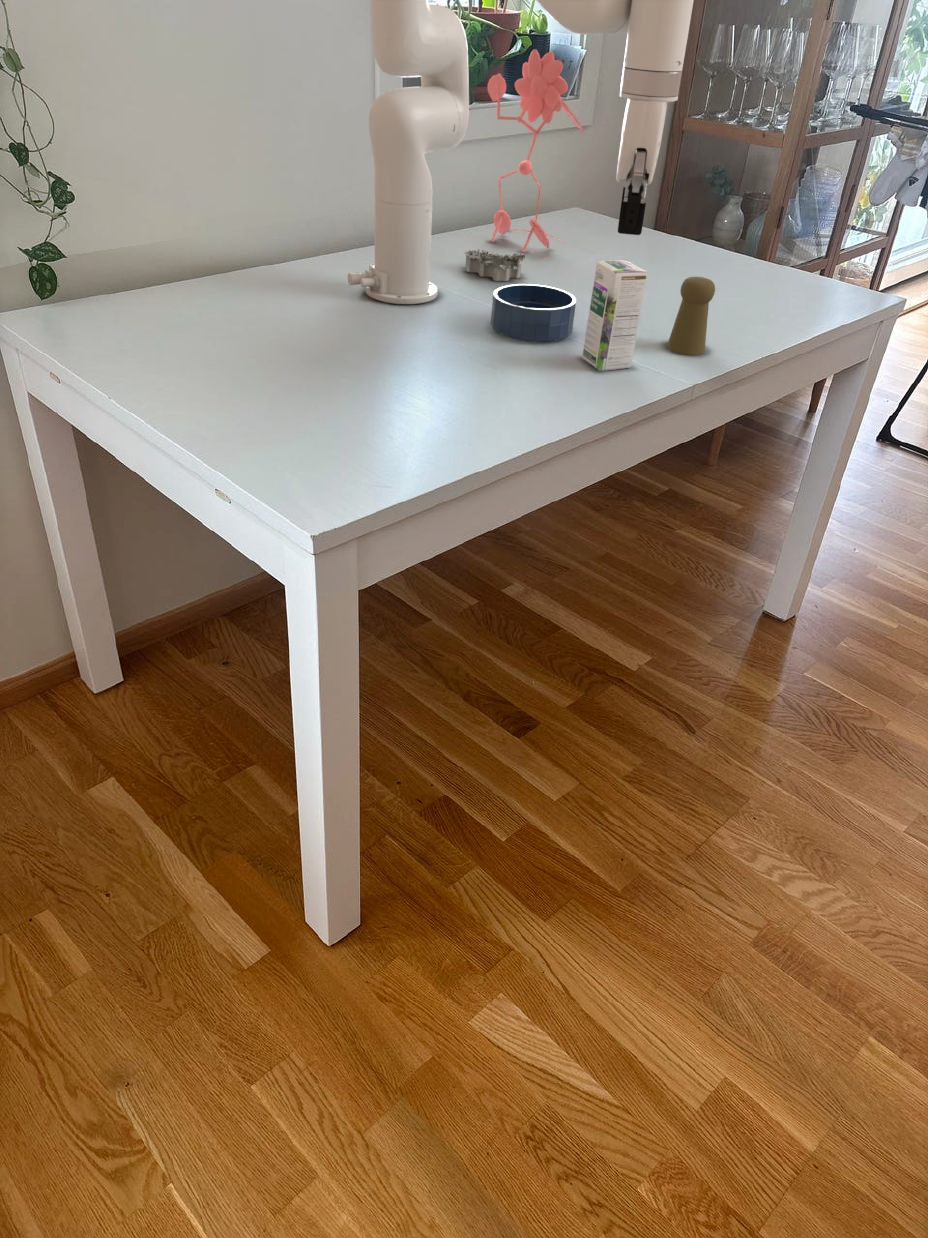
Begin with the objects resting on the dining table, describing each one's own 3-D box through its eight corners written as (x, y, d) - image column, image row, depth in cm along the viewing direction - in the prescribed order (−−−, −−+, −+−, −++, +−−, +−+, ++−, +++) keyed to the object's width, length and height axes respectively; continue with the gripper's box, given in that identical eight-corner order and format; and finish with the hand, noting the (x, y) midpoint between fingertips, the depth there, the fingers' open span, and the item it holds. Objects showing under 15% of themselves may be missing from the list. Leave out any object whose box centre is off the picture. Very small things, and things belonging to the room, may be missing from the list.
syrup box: (580, 358, 143) (594, 260, 135) (613, 355, 145) (628, 258, 137) (598, 371, 139) (614, 271, 131) (632, 368, 141) (650, 269, 133)
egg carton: (526, 277, 177) (528, 255, 175) (498, 283, 173) (500, 260, 170) (485, 263, 183) (487, 241, 181) (458, 269, 179) (459, 246, 176)
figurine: (551, 262, 186) (574, 59, 166) (461, 233, 201) (471, 43, 180) (599, 251, 196) (626, 57, 175) (509, 224, 210) (525, 42, 189)
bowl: (516, 348, 145) (520, 313, 142) (476, 321, 154) (478, 287, 151) (587, 339, 151) (592, 305, 147) (544, 314, 160) (548, 281, 157)
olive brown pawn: (704, 357, 147) (720, 286, 141) (666, 352, 148) (680, 281, 142) (704, 344, 152) (719, 275, 146) (667, 339, 153) (680, 270, 146)
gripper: (622, 76, 128) (605, 210, 138) (619, 89, 114) (600, 237, 124) (678, 81, 127) (656, 215, 137) (681, 94, 113) (657, 242, 123)
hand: (629, 225), depth 131 cm, fingers open, 9 cm apart
